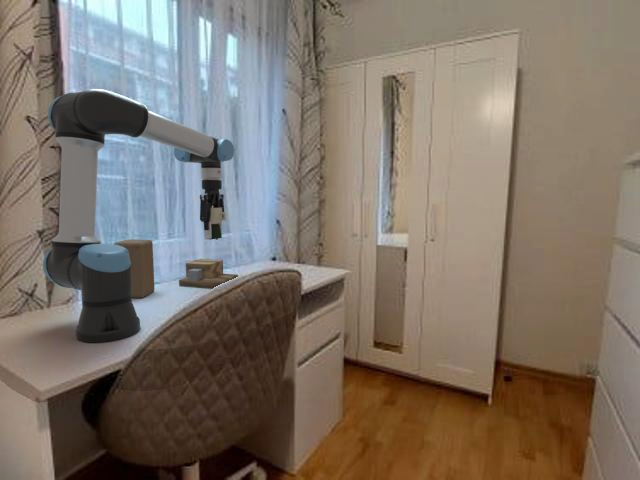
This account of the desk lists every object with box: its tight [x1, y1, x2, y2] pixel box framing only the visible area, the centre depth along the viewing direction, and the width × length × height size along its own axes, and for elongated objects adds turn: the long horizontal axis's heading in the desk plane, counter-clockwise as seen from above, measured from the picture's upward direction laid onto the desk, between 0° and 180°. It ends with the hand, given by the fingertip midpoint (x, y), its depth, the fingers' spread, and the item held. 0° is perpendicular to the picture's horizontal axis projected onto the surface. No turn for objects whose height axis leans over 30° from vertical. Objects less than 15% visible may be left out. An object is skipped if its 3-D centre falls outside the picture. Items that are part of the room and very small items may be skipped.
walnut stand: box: [178, 258, 239, 290], centre depth 160 cm, size 16×18×8 cm
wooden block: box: [113, 238, 155, 299], centre depth 140 cm, size 10×10×20 cm
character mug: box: [209, 206, 227, 241], centre depth 153 cm, size 11×7×13 cm, turn 79°
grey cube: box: [188, 269, 203, 281], centre depth 155 cm, size 4×4×4 cm
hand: (213, 237), depth 154 cm, fingers closed on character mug, 7 cm apart
